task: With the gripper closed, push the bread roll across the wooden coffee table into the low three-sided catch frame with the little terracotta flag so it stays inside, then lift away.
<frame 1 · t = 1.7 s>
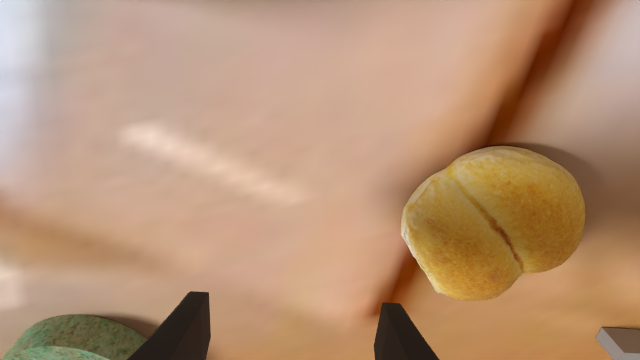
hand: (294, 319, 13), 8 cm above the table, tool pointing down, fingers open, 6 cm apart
bread roll: (476, 213, 22), on the table
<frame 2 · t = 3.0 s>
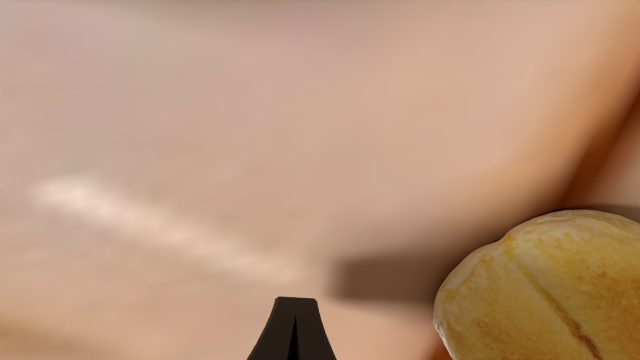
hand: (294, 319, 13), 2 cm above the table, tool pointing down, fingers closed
bread roll: (535, 292, 16), on the table
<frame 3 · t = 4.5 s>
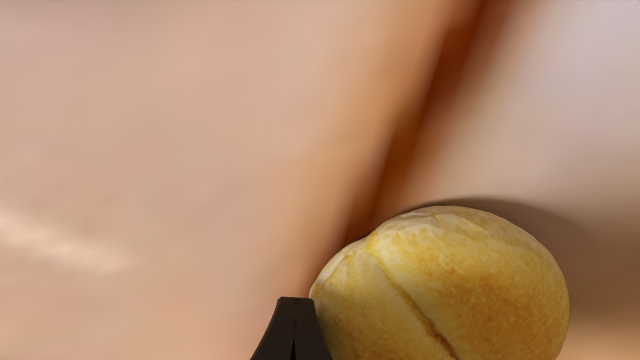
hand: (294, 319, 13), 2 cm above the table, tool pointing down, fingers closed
bread roll: (421, 291, 16), on the table, touching gripper
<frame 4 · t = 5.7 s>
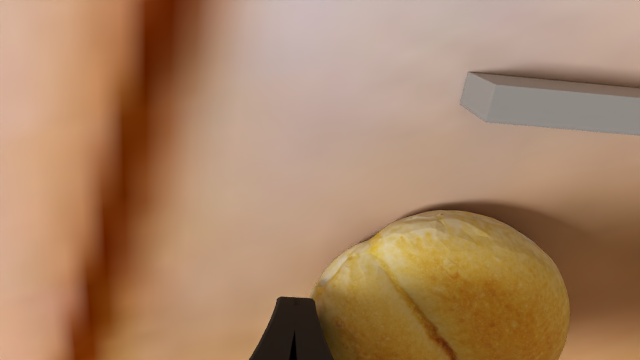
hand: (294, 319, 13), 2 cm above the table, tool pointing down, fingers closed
catch frame: (560, 300, 16), on the table
bread roll: (421, 294, 16), on the table, touching gripper
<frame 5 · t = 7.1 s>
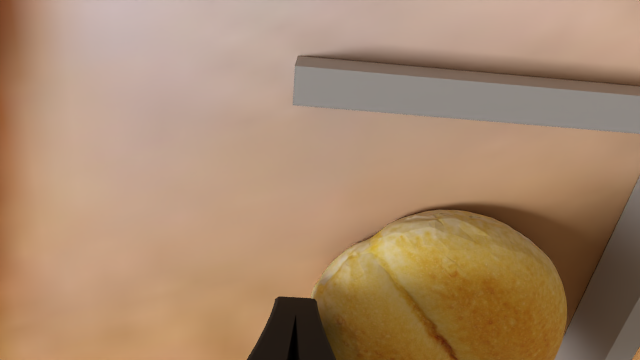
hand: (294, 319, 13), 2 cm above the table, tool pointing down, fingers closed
catch frame: (435, 291, 15), on the table
bread roll: (420, 293, 16), on the table
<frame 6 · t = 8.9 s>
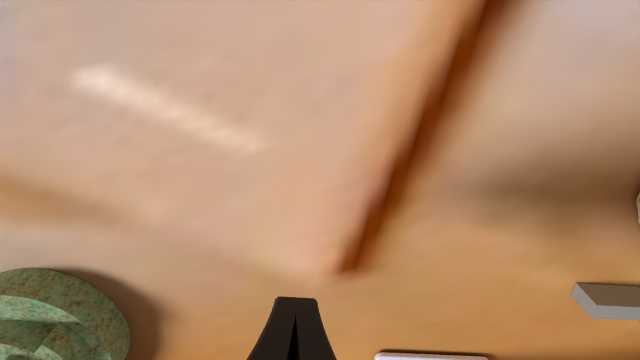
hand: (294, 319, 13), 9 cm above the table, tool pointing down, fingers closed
decorative artifact: (56, 325, 26), on the table
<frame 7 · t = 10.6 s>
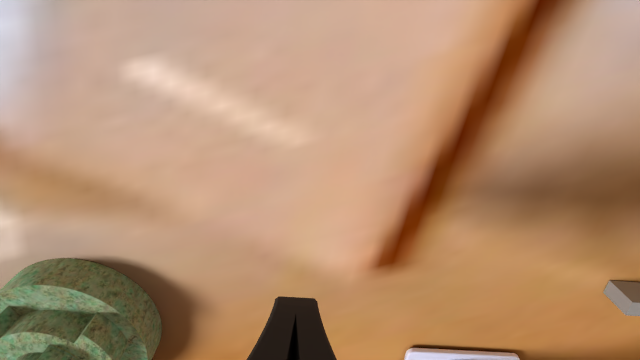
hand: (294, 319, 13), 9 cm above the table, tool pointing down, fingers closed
decorative artifact: (87, 316, 26), on the table
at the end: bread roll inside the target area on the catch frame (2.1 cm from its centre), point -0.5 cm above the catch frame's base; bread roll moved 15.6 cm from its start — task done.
